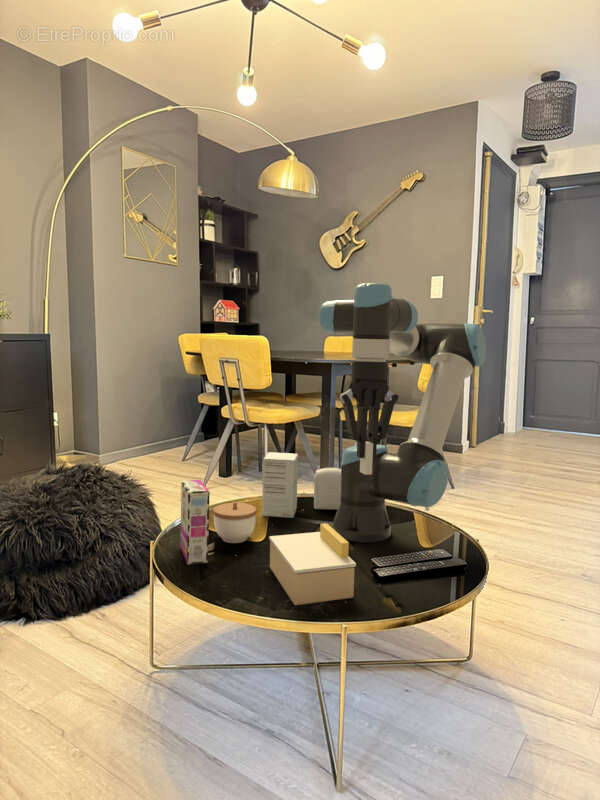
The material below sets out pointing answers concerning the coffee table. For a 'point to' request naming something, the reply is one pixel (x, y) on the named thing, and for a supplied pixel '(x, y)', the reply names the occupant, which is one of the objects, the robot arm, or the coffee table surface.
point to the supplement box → (279, 484)
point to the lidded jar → (234, 521)
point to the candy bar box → (194, 521)
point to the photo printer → (327, 488)
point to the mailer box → (312, 581)
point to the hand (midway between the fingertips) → (365, 472)
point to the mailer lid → (314, 550)
